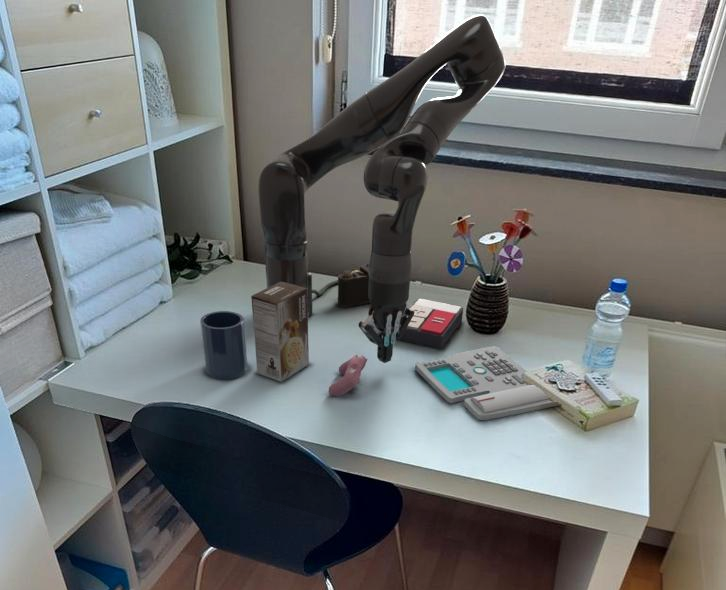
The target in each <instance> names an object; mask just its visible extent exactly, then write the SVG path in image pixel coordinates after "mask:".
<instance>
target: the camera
mask: <svg viewBox="0 0 726 590" xmlns="http://www.w3.org/2000/svg"><path fill="white" fill-rule="evenodd" d="M359 270H360V271H359ZM337 280H338V284H337V306H339V307H340V308H350V307H351V308H352V307H355V306H360V305H364V304H368V303H369V304H371V303H370V300H369V297H368V289H369V267H367V266H366V265H365V266H363V265H360V266H359V269H358V270H357V269H356V270H350V269H346V270H344V271H343V274H339V275H337Z"/></svg>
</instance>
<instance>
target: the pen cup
mask: <svg viewBox="0 0 726 590" xmlns="http://www.w3.org/2000/svg"><path fill="white" fill-rule="evenodd" d="M199 321H200V322H199V323H200V331H201V339H202V348H203V357H204V358H203V359H204V365H205V370H206V371H205V372H206V374H207V375H208V376H209V377H211V378H213V379H216V380H223V381H226V380H234V379H237V378H240V377H242V376H244V375H246V374H247V372H248V354H247V342H246V328H245V327H246V326H245V318H244V317H243V315H242V314H240V313H238V312H235V311H229V310H218V311H212V312H209V313H206V314H204V315H202V317H201V318H200V320H199Z"/></svg>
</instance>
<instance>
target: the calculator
mask: <svg viewBox="0 0 726 590" xmlns="http://www.w3.org/2000/svg"><path fill="white" fill-rule="evenodd" d="M409 309H411V310H413V311H414V312H415V313H414V316H413V317H412V319H411V321H410V323H409V325H408V326H407V328H406V330H405V332H404V334H403V335H402V337H401V338H400V339H399V338H397V339H396V340H399V341H404V342H409V343H413V344H417V345H421V346H426V347H431V348H434V349H438V350H440V349H442V348H444V346H445V344H446V343H447V342H448V340H449V339H450V337H451V336H452V334H454V332H455V330H458V328H459V327H460V326H461V324H462V322H463V314H464V307H461V306H459V305H454V304H449V303H444V302H440V301H434V300H430V299H424V298H418V299H416V300H415V302H414V303H413V304H411V306H410V307H409ZM400 327H401V325H399V329H400Z"/></svg>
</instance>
